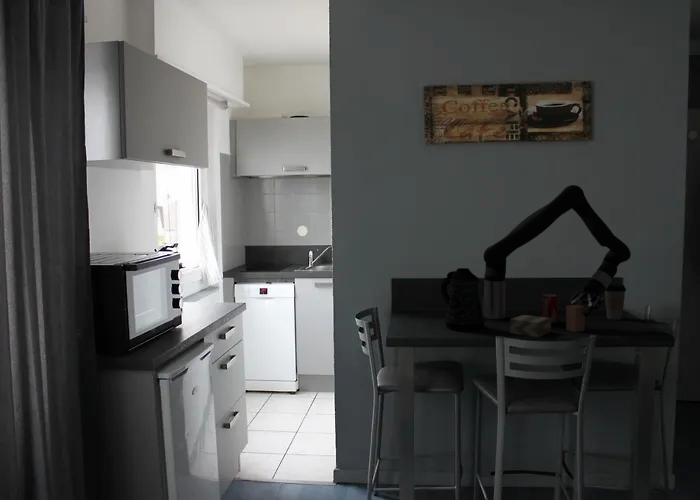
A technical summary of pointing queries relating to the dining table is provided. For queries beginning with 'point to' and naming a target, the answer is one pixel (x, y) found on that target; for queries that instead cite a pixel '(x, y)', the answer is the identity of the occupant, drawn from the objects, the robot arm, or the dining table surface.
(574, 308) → the terracotta block
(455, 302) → the beer stein
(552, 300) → the soda can
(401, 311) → the dining table surface
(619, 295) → the coffee cup
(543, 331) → the birch box
